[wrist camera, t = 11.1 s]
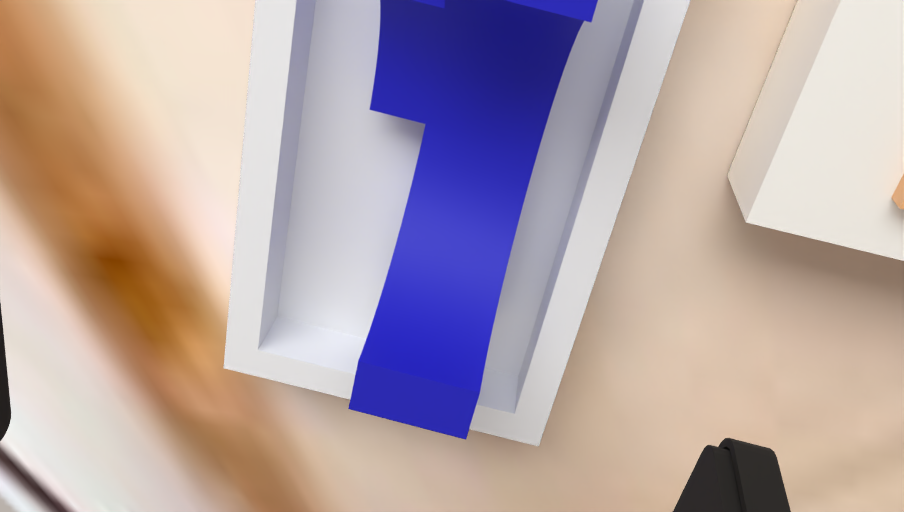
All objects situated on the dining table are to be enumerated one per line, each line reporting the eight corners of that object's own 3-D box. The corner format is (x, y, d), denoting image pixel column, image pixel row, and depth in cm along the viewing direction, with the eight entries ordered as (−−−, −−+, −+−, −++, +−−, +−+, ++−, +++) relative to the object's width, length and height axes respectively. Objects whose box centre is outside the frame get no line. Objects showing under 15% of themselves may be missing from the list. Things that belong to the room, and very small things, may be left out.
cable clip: (424, -143, 20) (370, -124, 15) (606, -97, 20) (616, -61, 15) (347, 274, 26) (289, 393, 21) (488, 310, 26) (465, 439, 21)
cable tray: (741, -210, 19) (761, -210, 17) (541, 396, 28) (538, 446, 26) (316, -309, 19) (283, -323, 17) (250, 324, 28) (223, 368, 26)
